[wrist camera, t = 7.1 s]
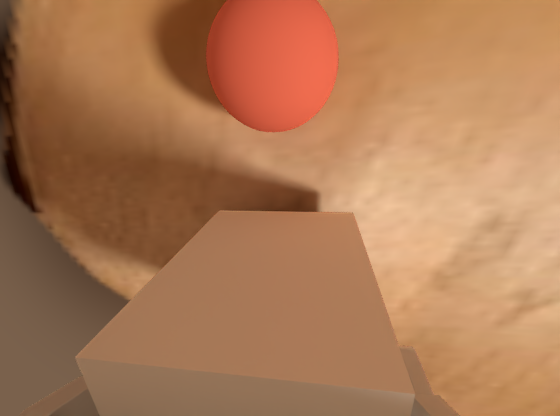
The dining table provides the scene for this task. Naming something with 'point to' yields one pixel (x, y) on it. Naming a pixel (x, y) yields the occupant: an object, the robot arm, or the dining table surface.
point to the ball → (272, 61)
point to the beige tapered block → (255, 327)
